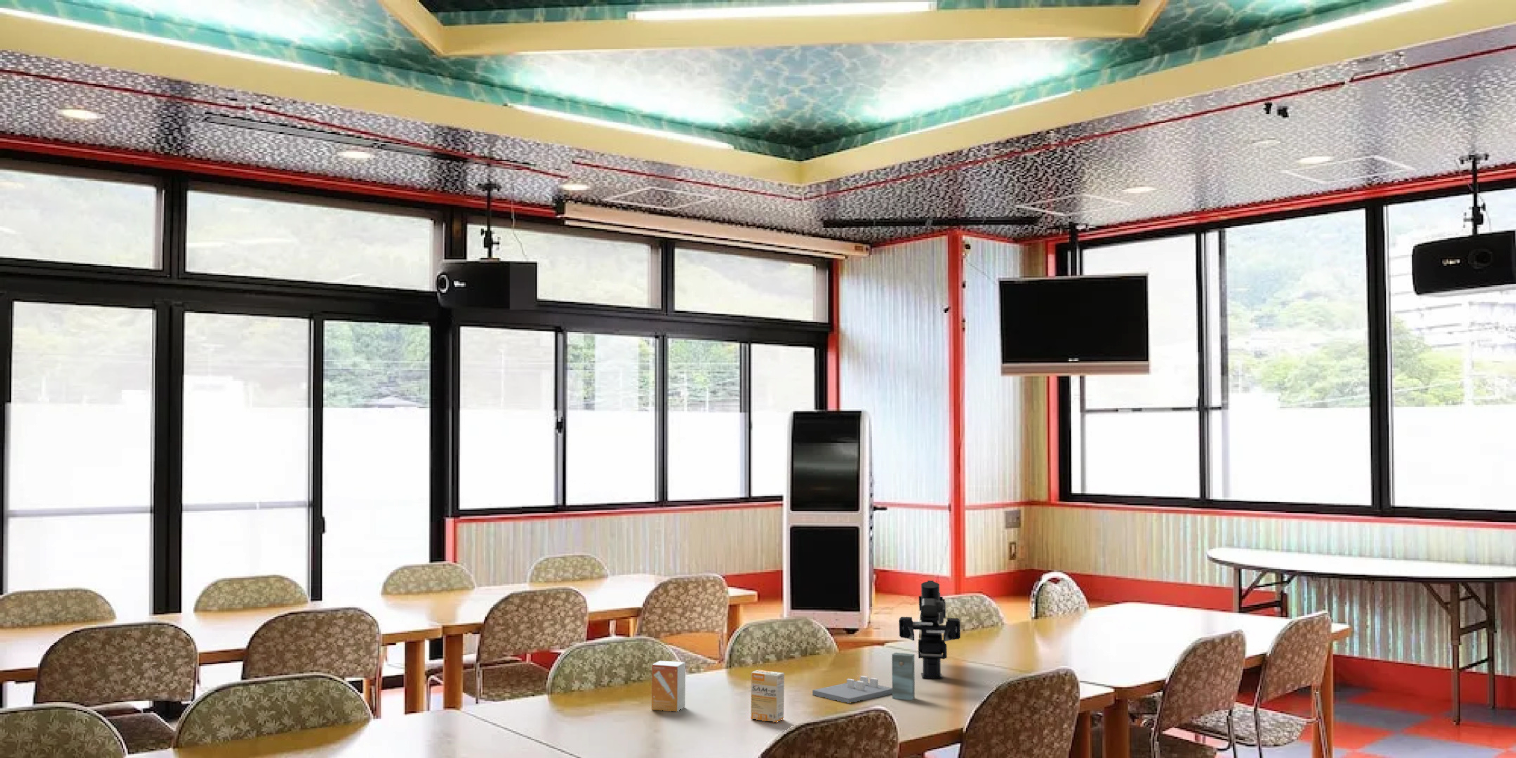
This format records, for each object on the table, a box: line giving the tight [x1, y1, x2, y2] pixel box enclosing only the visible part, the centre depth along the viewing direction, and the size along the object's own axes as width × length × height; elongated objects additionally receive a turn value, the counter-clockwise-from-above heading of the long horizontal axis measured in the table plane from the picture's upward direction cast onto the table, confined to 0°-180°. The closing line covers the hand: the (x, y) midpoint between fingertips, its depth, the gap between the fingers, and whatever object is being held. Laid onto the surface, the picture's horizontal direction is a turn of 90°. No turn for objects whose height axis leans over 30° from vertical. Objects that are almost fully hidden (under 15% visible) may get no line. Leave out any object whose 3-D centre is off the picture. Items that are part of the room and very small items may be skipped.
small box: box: [651, 660, 686, 712], centre depth 334 cm, size 8×6×13 cm
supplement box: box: [750, 669, 785, 723], centre depth 321 cm, size 8×5×13 cm, turn 62°
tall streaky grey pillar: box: [891, 652, 916, 701], centre depth 347 cm, size 4×6×13 cm, turn 66°
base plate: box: [812, 675, 892, 704], centre depth 352 cm, size 20×15×4 cm
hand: (928, 639), depth 353 cm, fingers open, 9 cm apart
